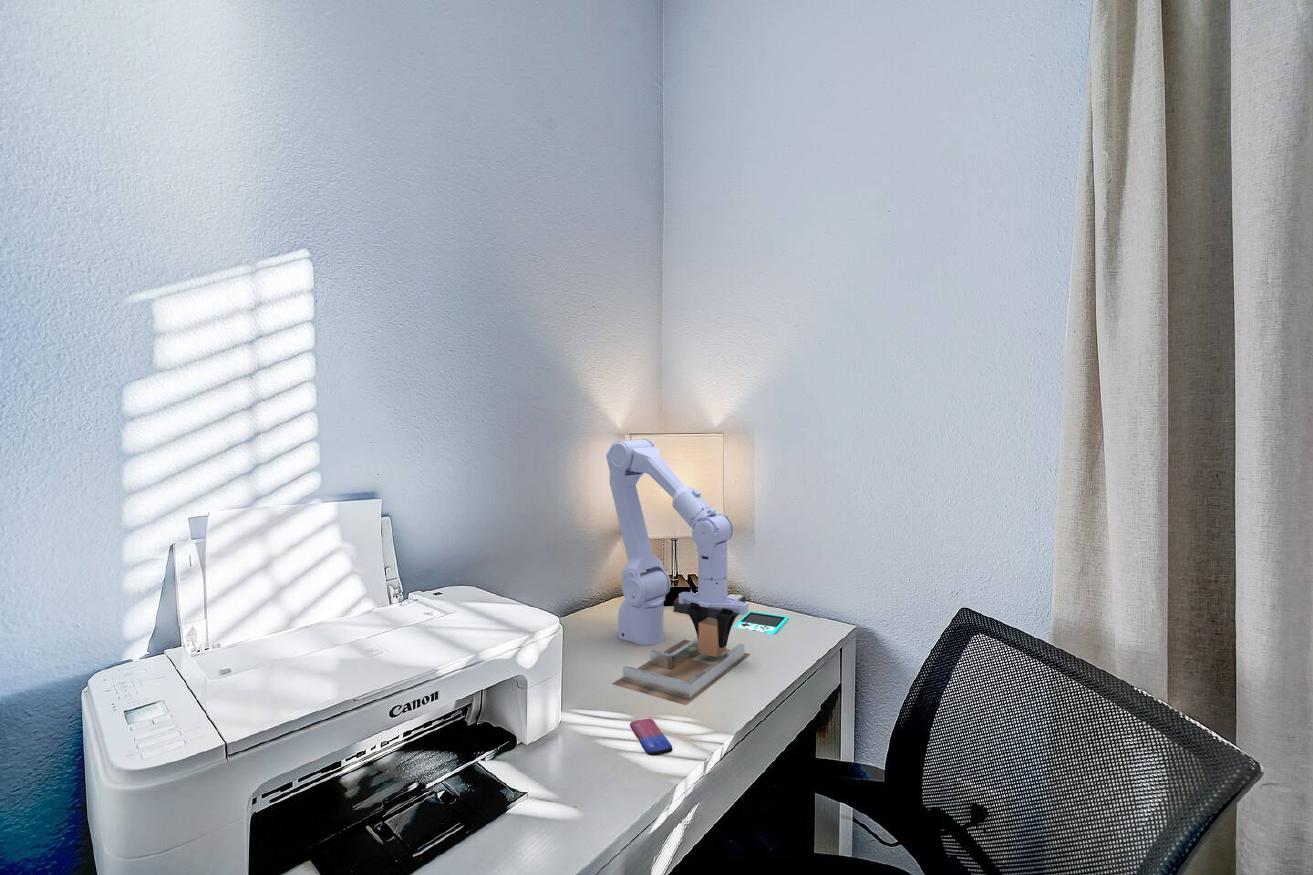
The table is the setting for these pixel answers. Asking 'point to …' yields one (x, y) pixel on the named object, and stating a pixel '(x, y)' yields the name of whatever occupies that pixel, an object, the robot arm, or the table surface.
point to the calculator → (711, 612)
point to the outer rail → (679, 686)
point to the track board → (679, 673)
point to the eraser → (650, 737)
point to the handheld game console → (762, 622)
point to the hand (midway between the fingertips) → (712, 643)
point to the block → (709, 638)
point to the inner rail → (674, 655)
